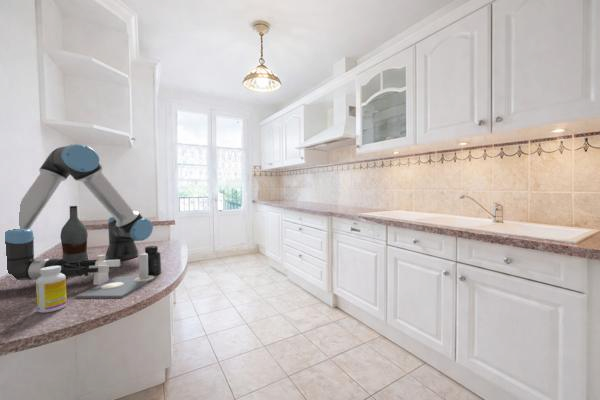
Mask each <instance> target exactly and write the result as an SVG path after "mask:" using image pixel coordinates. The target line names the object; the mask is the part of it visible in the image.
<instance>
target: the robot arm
mask: <svg viewBox="0 0 600 400" xmlns="http://www.w3.org/2000/svg"><path fill="white" fill-rule="evenodd" d="M102 171H103V166H102V165H101V163H100V157H99V155H98V153H97V152H96V151H95V150H94V149H93V148H91V147H90V146H88V145H84V144H70V145H66V146H60V147H58V148H55V149H53V150H52V151H51V152H50V153H49V154H48V156H47V158H45V161H44V162H43V164H42V165H41V166H40V168H39V170H38V172H39V175H38V176H37V177H36V179H35V181H33V183H32V184H31V186H30V187H29V188H28V190H27V191H26V193H25V194H24V196H22V199H21V200H22V201H21V200H20V201H21V204H20V212H19V226H20V229H13V230H8V231H6V232H5V244H6V256H7V270H8V273H9V274H12V275H13V276H14V277H15V278H16V279H17V280H20V281H21V282H22V281H31V280H32V281H34V280H37V279H38V278H39V277H41V273H40V269H41V268H45V267H49V266H61V271H60V273H61V274H64V275H65V276H66V277H78V276H79V277H82V276H84V277H88V276H89V274H90V275H91V274H94V273H108V274H109V272H110V268H115V267H117V268H119V267H121V261H123V260H124V261H125V260H129V259H133V257H134V258H137V257H139V250H138V248H137V245H136V242H142V241H145V240H147V239H148V238H149V237H151V235H152V233H153V230H154V225H153V223H152V222H151V220H149V219H148V218H144V217H143V216H142V214H141V213H140V212H139V211H137V210H133V209H132V207H131V206H130V205H129V204H128V203H127V202H126V200H125V199H124V198H123V196H122V195H121V194H120V193H119V192H118V190H117V189H116V188H115V187H114V186H113V184H112V182H111V181H109V179H108V178H107V176H106V175H105V174H104V173H103V172H102ZM69 176H71V177H72V178H73V179H74V180H75V181H77V182H82V184H83V185H84V186H85V187H86V188H87V189H88V190H89V192H91V194H92V195H93V196H94V197H95V198H96V200H97V201H99V203H100V204H101V205H102V206H103V207H104V209H105V210H106V211H107V212H108V213H109V214H110V215H111V217H109V218H108V221H107V226H108V229H107V230H108V246H107V250H106V253H105V254H104V255H105V260H106V263H107V265H100V266H95V262H97V260H96V259H88V260H84V261H80V260H79V261H77V262H68V263H67V262H66V261H65V260H64V259H62V258H42V259H35V257H34V256H35V250H34V249H35V247H34V240H35V237H34V231H33V229H31V228H32V227H33V225H34V223H35V222H36V220H37V219H38V217H39V216H40V214H41V213H42V211H43V209H44V208H45V207H46V206H47V204H48V202H49V201H50V199H51V198H52V197H53V195H54V193H56V190H57V189H58V188H59V186H60V184H61V183H62V182H65V181H66V180H67V179H68V178H69ZM136 256H137V257H136ZM20 281H19V282H20Z"/></svg>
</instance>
